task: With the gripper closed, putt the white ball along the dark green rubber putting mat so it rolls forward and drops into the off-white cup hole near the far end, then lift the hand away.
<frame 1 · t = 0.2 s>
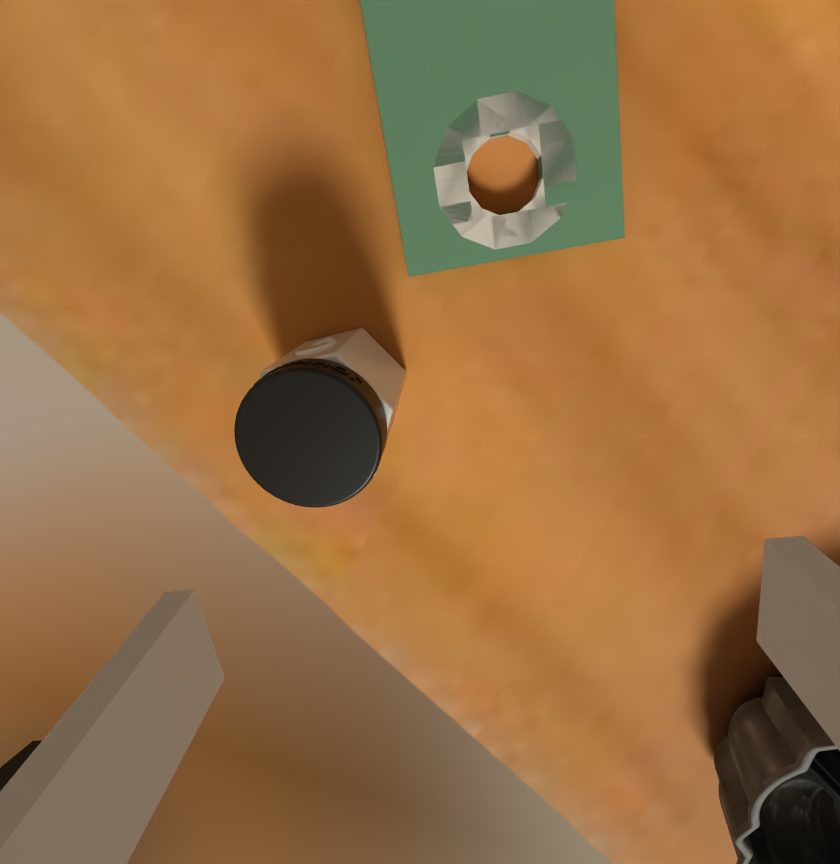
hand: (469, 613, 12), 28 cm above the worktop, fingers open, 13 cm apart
bundt pan: (831, 728, 48), on the worktop
mat: (488, 51, 32), on the worktop
jar: (349, 384, 40), on the worktop
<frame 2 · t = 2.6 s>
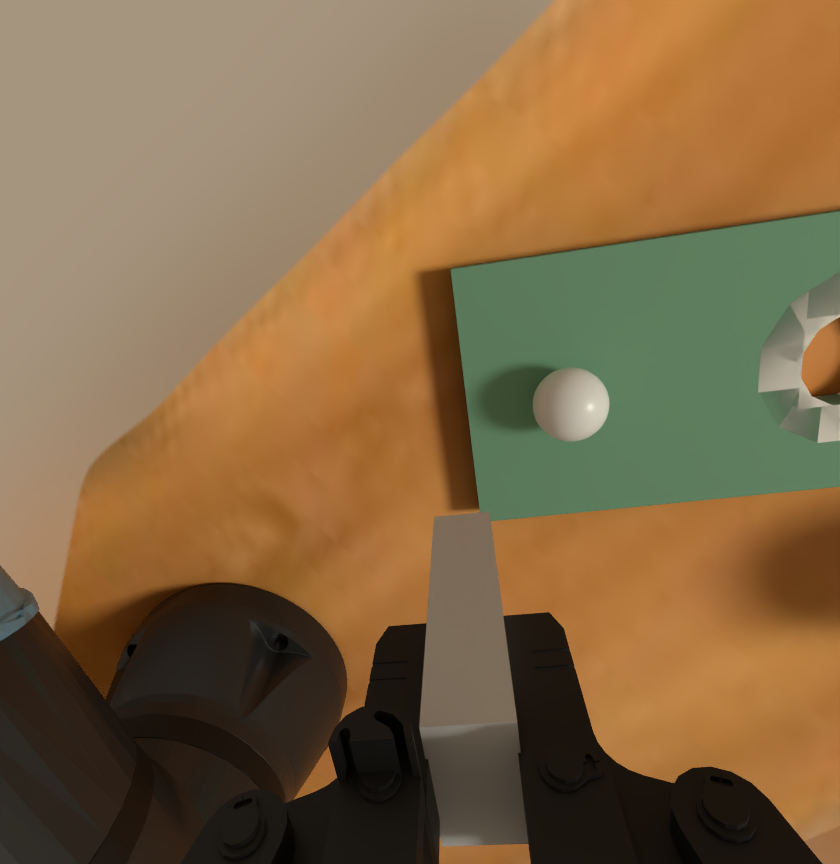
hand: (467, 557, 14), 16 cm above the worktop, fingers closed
mat: (689, 370, 28), on the worktop
ball: (570, 404, 25), point 3 cm above the worktop, touching mat
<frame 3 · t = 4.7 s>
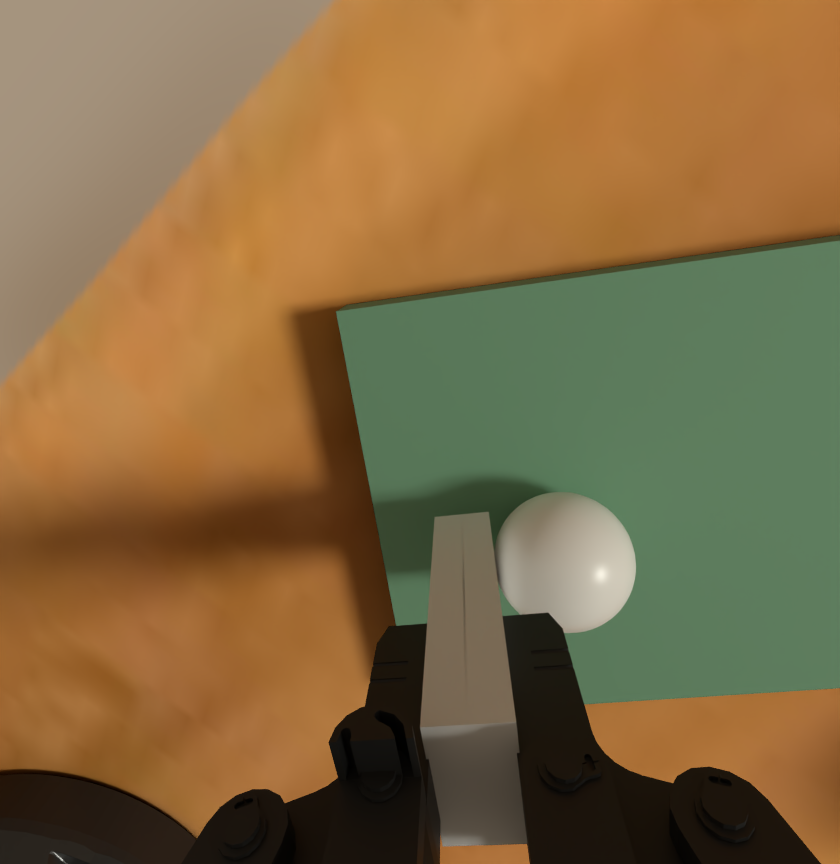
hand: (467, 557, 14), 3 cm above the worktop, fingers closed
mat: (762, 478, 16), on the worktop
ball: (562, 560, 14), point 3 cm above the worktop, touching gripper, mat
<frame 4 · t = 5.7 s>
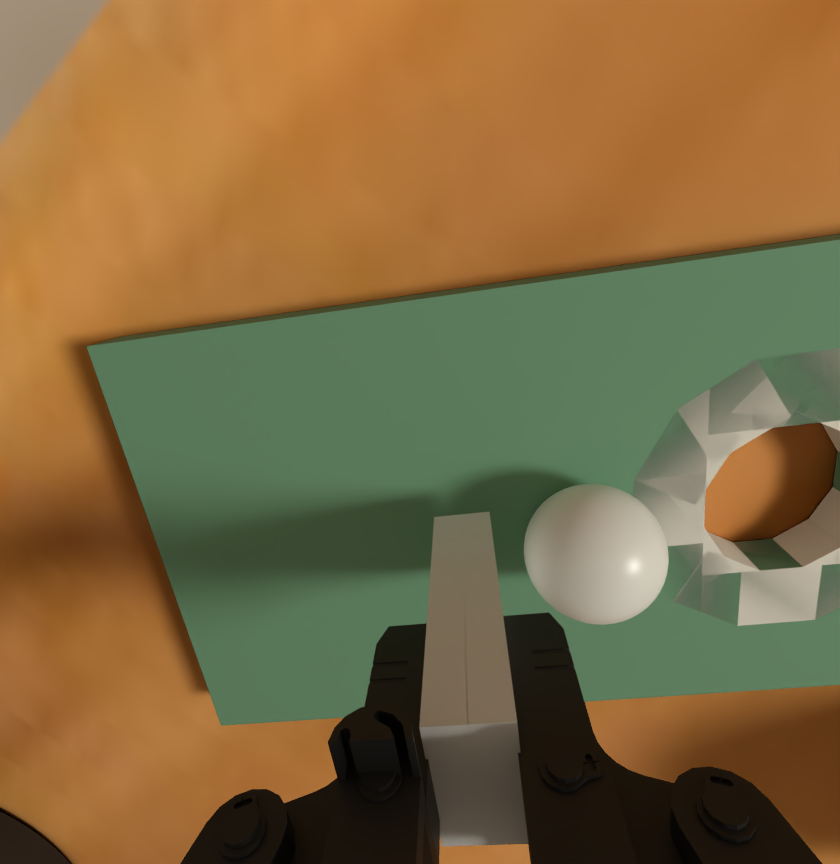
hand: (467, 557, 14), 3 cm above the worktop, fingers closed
mat: (532, 500, 17), on the worktop
ball: (593, 552, 14), point 3 cm above the worktop, tilted 105°, touching mat
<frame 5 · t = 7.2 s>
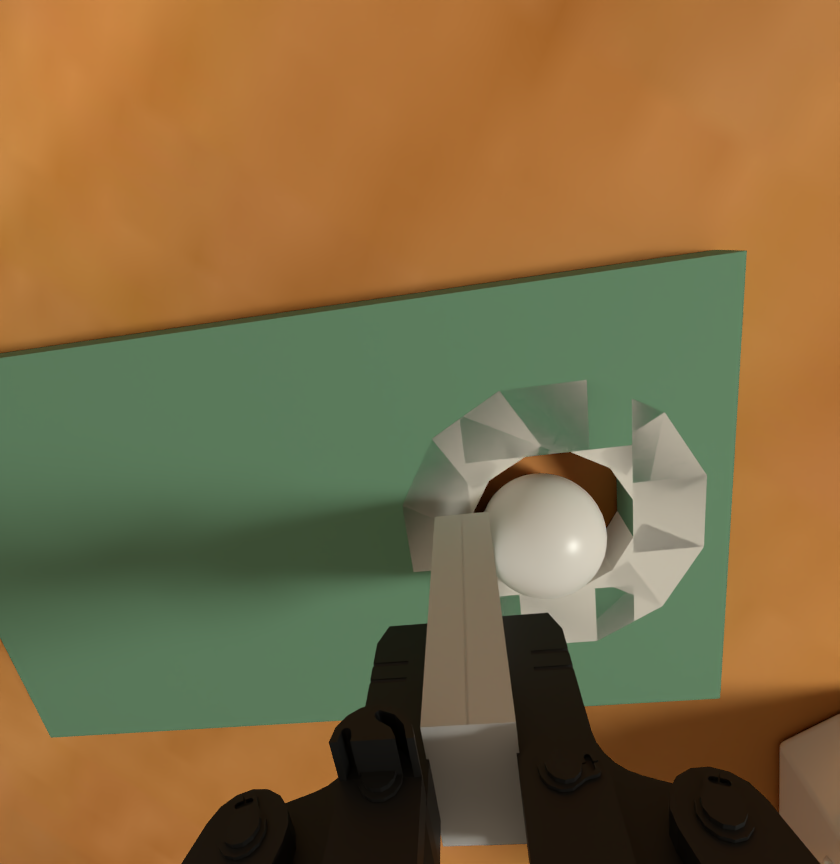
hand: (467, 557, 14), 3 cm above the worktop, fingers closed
mat: (332, 522, 18), on the worktop
ball: (541, 534, 15), point 2 cm above the worktop, tilted 91°, touching gripper
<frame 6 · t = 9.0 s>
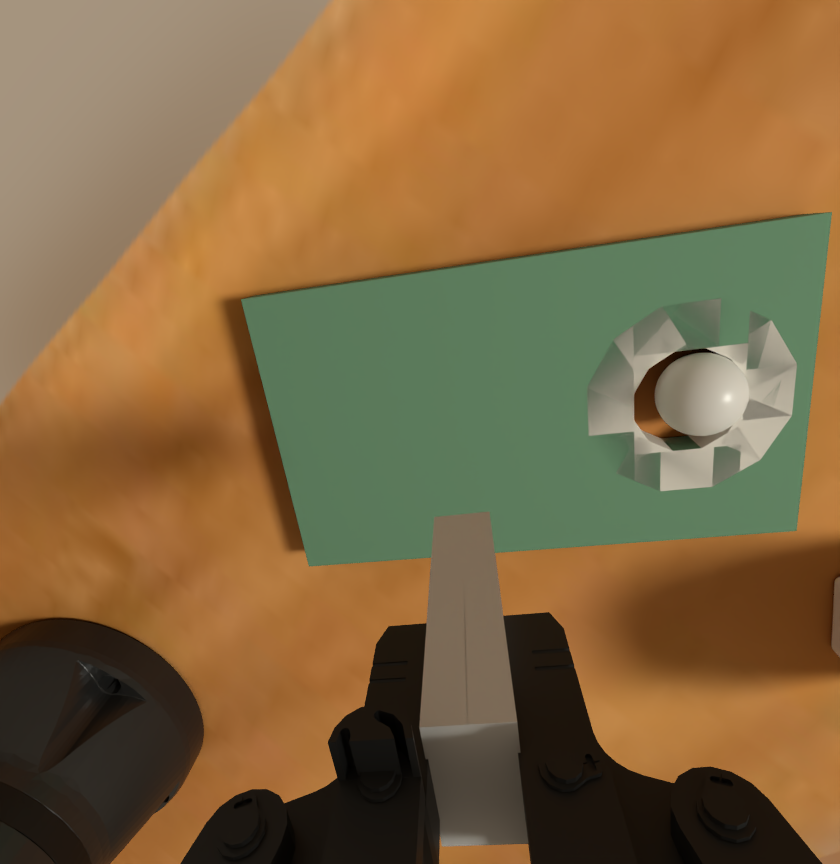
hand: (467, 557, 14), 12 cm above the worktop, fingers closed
mat: (523, 407, 25), on the worktop
ball: (700, 394, 23), point 2 cm above the worktop, tilted 115°
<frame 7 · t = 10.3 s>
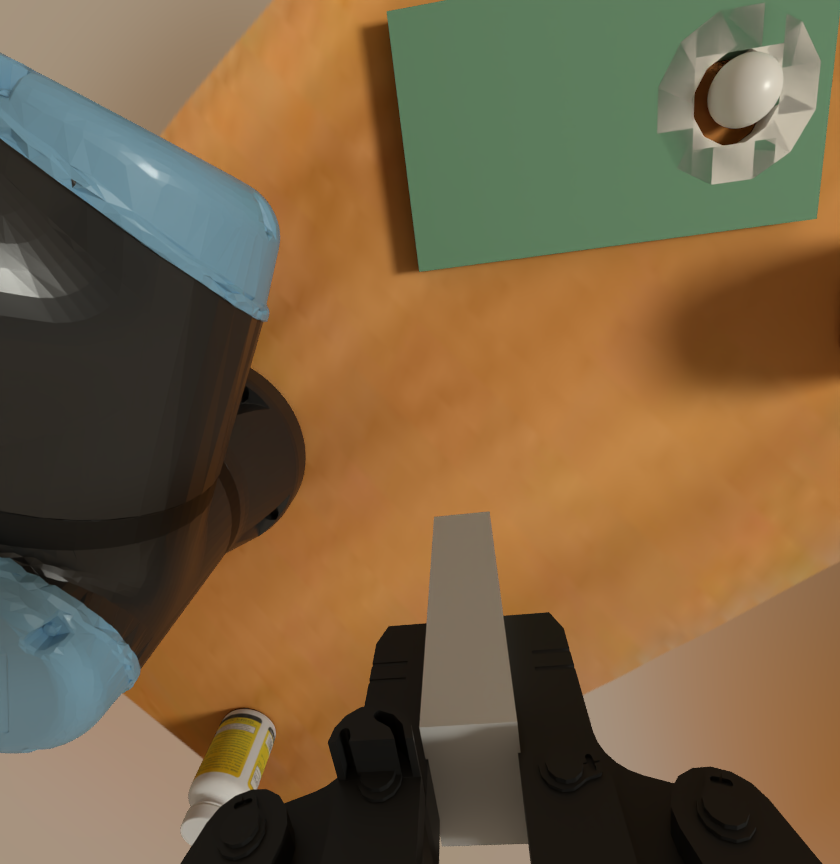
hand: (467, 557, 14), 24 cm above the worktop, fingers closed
supplement bottle: (250, 725, 51), on the worktop
mat: (601, 124, 32), on the worktop
ball: (744, 91, 29), point 2 cm above the worktop, tilted 111°
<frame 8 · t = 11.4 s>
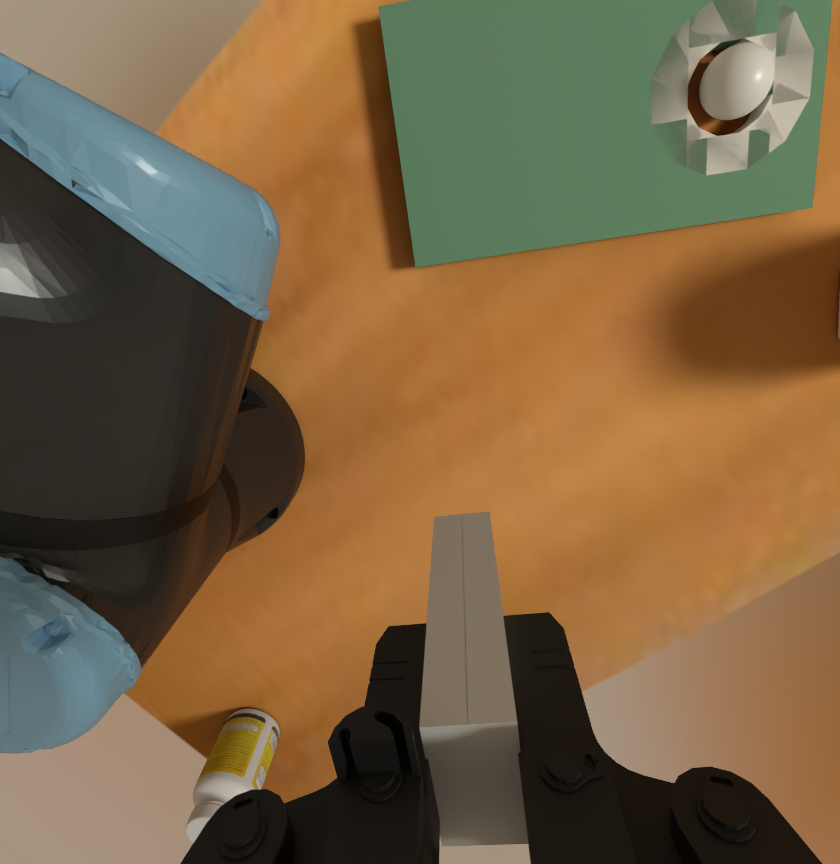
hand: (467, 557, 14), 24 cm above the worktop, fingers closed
supplement bottle: (254, 725, 51), on the worktop
mat: (595, 117, 32), on the worktop
ball: (735, 82, 29), point 2 cm above the worktop, tilted 108°
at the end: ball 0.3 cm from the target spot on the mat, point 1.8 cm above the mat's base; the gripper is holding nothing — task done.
